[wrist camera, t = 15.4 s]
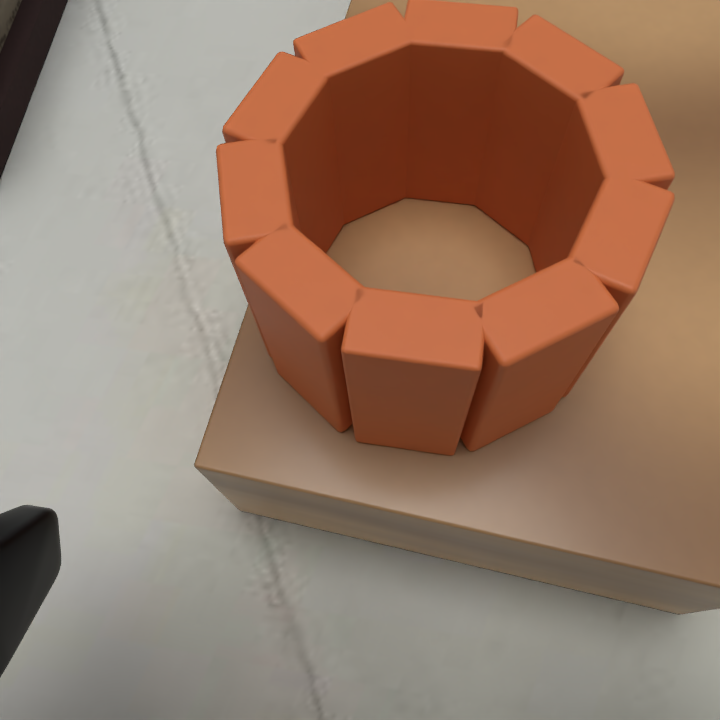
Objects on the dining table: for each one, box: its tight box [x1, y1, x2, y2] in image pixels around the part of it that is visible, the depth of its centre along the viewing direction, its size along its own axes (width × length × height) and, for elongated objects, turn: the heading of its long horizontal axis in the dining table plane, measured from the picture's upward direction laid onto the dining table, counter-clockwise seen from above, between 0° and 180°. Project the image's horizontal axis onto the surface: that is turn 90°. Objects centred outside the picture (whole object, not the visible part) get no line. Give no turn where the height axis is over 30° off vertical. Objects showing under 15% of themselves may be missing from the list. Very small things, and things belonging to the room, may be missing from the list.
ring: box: [216, 0, 675, 456], centre depth 12 cm, size 6×7×4 cm
